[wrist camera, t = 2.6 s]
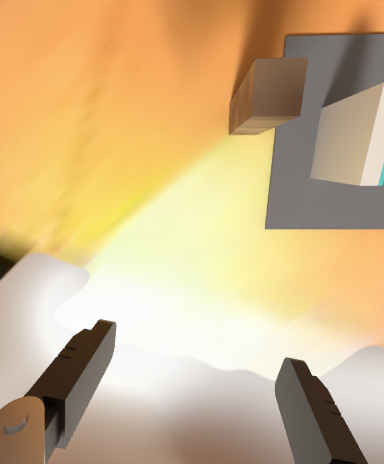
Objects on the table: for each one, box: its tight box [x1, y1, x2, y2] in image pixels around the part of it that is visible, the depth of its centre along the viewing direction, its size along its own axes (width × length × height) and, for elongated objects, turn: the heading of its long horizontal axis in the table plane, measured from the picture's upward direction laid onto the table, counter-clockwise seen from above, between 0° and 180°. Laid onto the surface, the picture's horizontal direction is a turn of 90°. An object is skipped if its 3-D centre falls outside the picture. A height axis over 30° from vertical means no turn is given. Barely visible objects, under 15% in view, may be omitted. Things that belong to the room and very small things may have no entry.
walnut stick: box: [229, 58, 308, 135], centre depth 21 cm, size 4×4×12 cm
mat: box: [265, 34, 384, 229], centre depth 27 cm, size 22×18×1 cm
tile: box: [310, 82, 384, 186], centre depth 22 cm, size 8×2×9 cm, turn 0°
